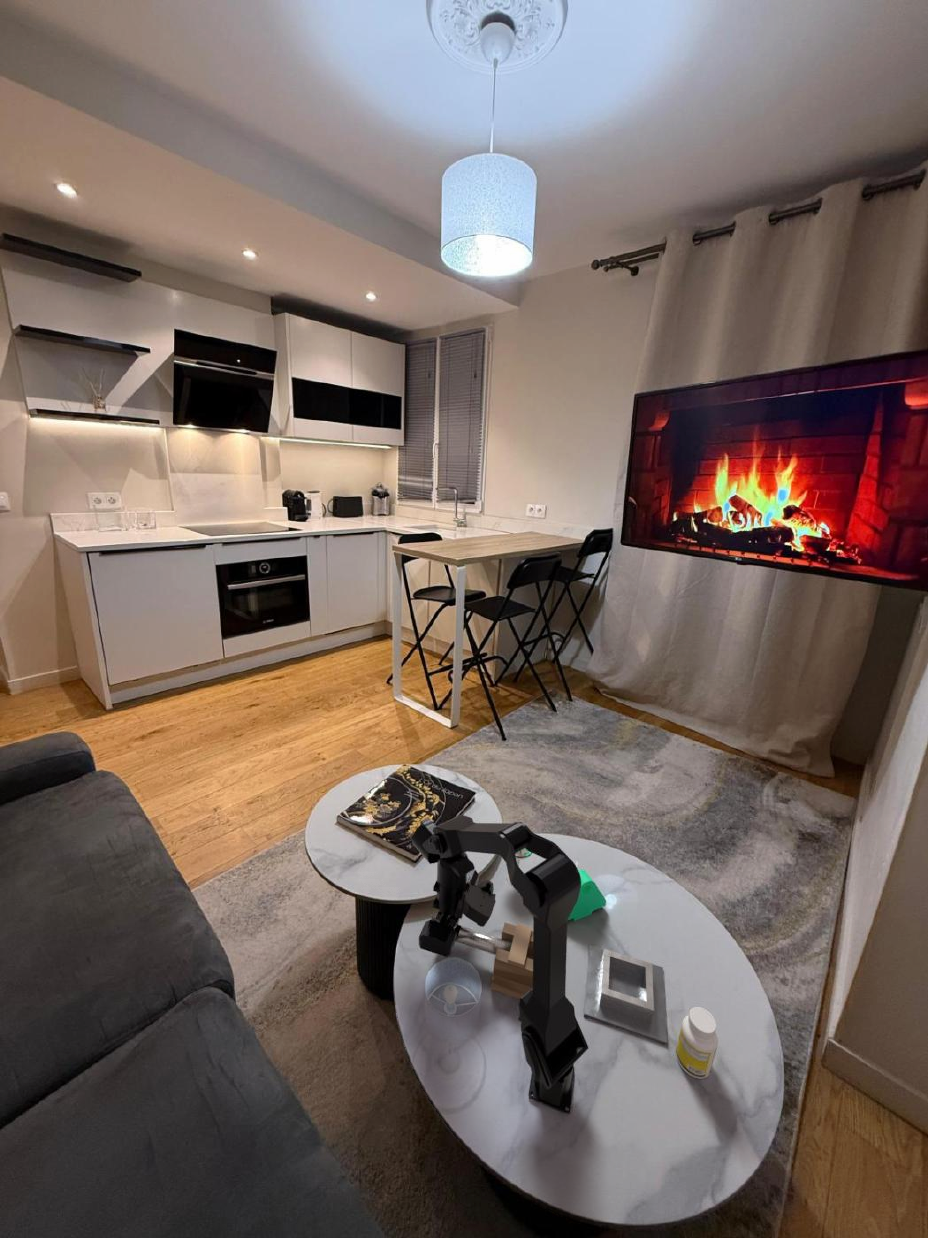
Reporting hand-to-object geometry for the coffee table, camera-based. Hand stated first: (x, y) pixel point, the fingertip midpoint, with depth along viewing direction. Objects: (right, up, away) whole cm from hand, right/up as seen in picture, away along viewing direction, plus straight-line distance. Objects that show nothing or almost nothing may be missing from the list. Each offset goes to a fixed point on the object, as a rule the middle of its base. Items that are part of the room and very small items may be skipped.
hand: (449, 938), depth 99 cm
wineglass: (+15, +2, +18) cm, 24 cm away
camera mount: (+27, 0, +12) cm, 30 cm away
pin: (+6, 0, -2) cm, 6 cm away
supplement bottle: (+41, -10, -17) cm, 46 cm away
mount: (+13, -4, -3) cm, 14 cm away
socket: (+33, -6, -6) cm, 34 cm away
